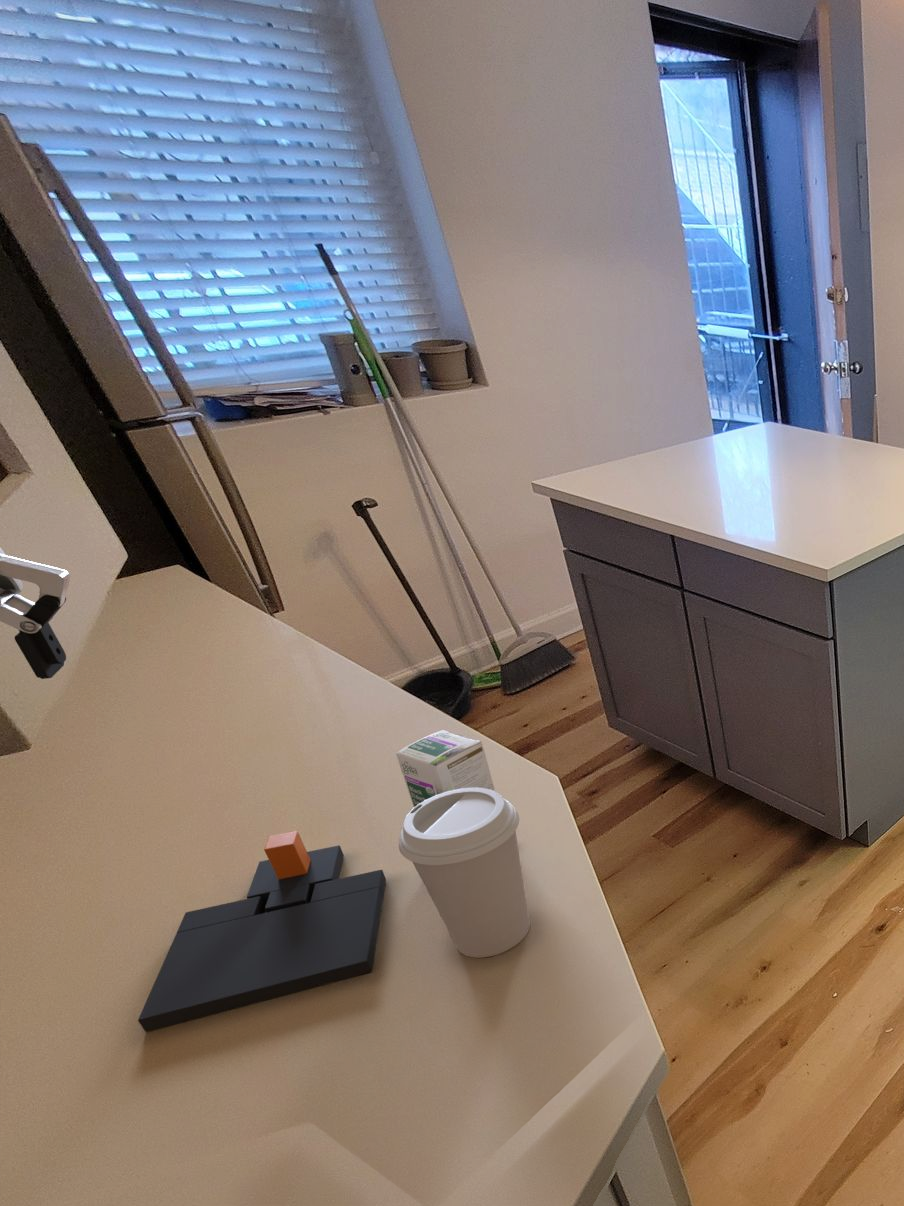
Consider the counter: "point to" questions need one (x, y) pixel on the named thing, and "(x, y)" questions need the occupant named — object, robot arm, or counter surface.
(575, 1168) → the counter surface
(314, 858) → the pad
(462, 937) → the coffee cup
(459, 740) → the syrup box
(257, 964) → the notch pad
